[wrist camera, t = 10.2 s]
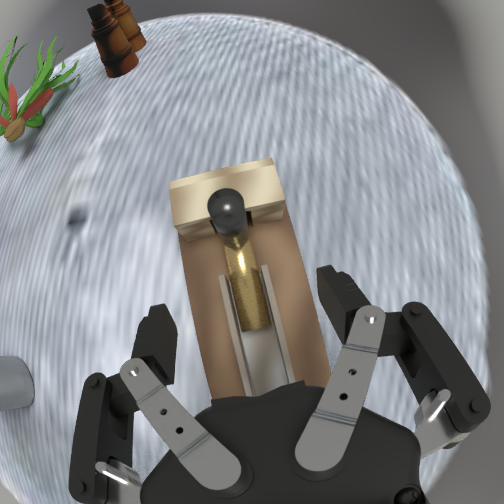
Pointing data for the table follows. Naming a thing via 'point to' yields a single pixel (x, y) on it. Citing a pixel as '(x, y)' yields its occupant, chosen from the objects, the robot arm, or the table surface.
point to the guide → (272, 278)
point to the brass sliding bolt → (239, 258)
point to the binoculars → (116, 36)
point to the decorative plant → (28, 95)
